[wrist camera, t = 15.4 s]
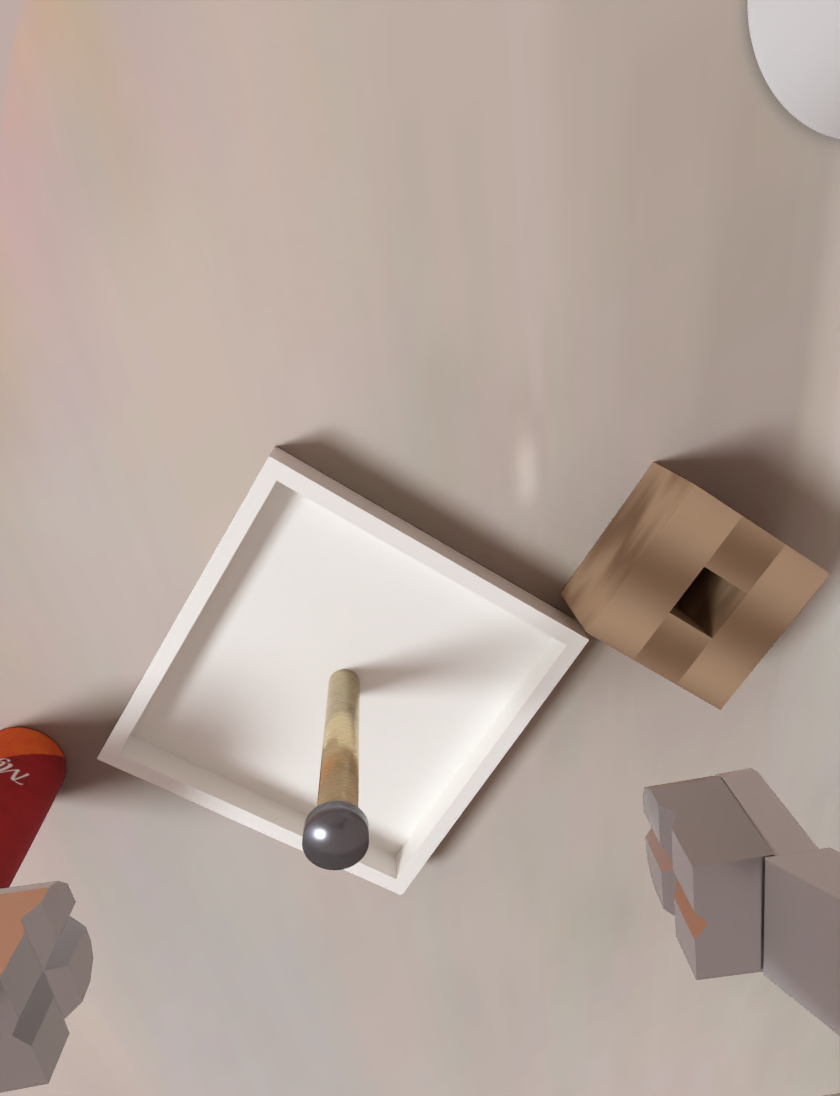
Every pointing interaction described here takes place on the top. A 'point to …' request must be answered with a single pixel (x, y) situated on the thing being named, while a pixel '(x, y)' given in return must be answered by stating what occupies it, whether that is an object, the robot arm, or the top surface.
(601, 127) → the top surface
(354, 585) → the off-white tray
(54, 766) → the paper cup
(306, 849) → the brass pin
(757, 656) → the walnut block
